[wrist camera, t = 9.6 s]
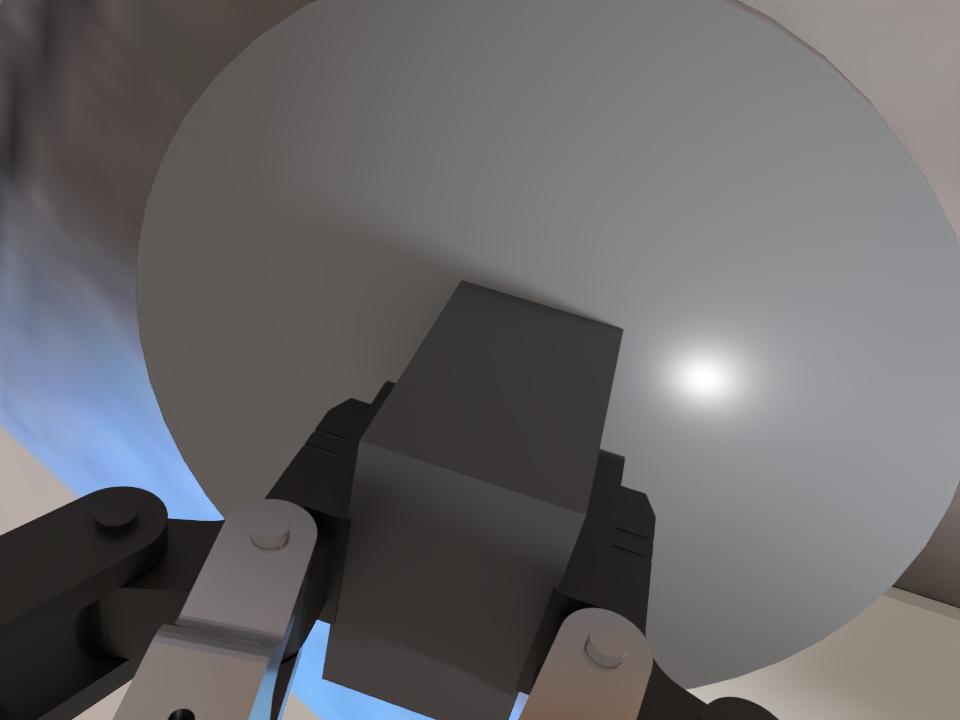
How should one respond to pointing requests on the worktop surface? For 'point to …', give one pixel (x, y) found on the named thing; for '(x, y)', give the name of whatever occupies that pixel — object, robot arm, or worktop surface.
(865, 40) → the worktop surface
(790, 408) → the lid
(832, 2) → the worktop surface
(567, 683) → the robot arm
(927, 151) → the worktop surface
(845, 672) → the mat
